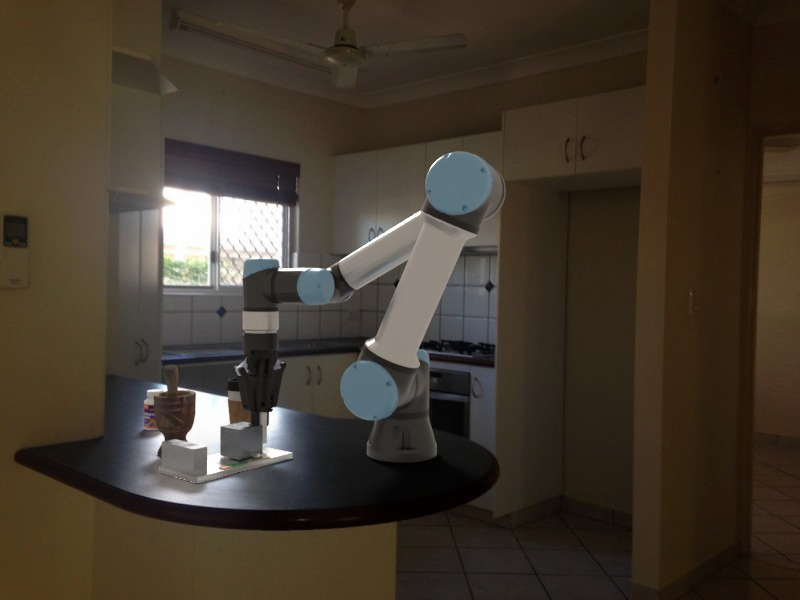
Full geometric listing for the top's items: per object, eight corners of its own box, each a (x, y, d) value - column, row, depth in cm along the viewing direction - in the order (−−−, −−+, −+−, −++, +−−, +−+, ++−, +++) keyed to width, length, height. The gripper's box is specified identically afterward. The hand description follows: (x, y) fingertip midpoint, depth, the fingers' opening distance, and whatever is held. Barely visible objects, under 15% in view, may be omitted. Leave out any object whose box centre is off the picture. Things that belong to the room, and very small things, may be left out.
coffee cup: (254, 447, 155) (254, 380, 155) (219, 445, 157) (219, 379, 157) (268, 439, 163) (269, 375, 163) (235, 437, 165) (235, 374, 165)
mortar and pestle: (204, 458, 145) (204, 363, 144) (161, 464, 140) (161, 365, 140) (190, 447, 154) (190, 358, 154) (150, 452, 150) (149, 360, 150)
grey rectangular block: (270, 455, 141) (270, 426, 141) (247, 461, 137) (247, 431, 136) (243, 449, 146) (243, 421, 146) (220, 455, 142) (220, 426, 141)
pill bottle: (139, 430, 172) (139, 391, 172) (152, 426, 177) (151, 388, 177) (158, 431, 171) (158, 392, 171) (170, 427, 176) (170, 389, 176)
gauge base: (292, 458, 145) (292, 429, 145) (197, 484, 126) (197, 450, 126) (254, 449, 153) (254, 421, 153) (158, 472, 134) (158, 441, 133)
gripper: (272, 329, 153) (271, 434, 154) (224, 332, 143) (223, 445, 144) (295, 330, 149) (294, 439, 149) (247, 334, 138) (247, 451, 139)
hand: (259, 442), depth 146 cm, fingers closed
